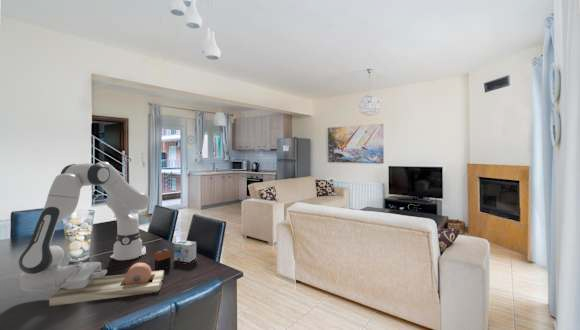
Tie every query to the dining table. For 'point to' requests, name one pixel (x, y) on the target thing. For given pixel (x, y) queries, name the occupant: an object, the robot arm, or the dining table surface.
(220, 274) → the dining table surface
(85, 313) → the dining table surface
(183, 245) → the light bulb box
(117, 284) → the board
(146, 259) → the dining table surface
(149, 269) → the roller
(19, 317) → the dining table surface
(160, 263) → the battery
